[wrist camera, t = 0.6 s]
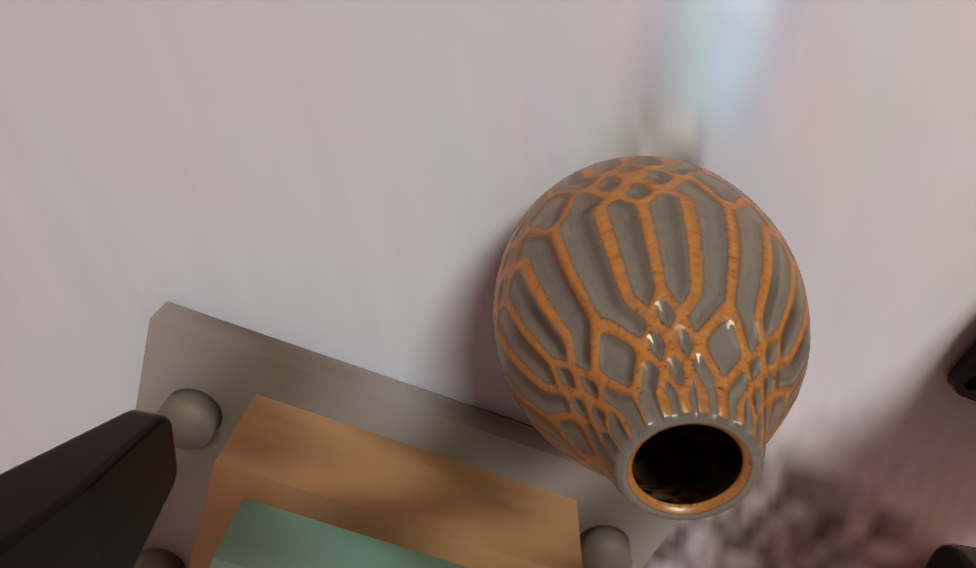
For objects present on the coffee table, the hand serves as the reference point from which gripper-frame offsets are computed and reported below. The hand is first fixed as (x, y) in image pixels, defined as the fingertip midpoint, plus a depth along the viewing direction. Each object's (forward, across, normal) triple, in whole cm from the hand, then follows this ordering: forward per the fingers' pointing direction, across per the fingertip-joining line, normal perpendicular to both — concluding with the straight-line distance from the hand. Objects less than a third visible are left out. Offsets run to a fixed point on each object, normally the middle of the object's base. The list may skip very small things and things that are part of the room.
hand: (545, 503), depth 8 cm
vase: (+12, -2, +2) cm, 12 cm away
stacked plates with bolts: (+11, +4, +14) cm, 19 cm away
